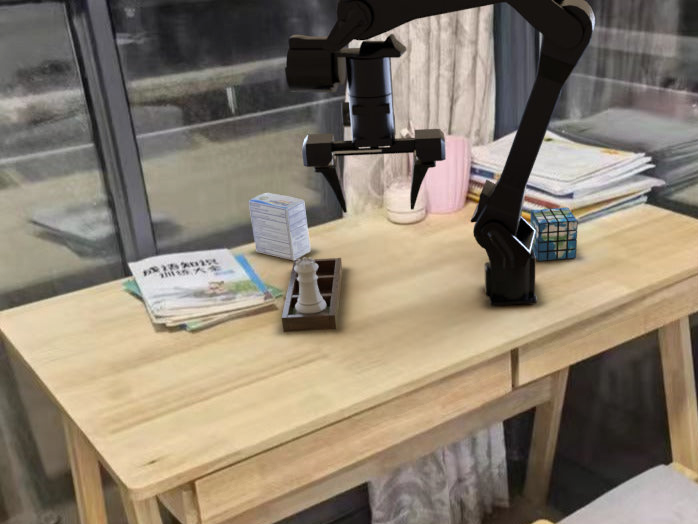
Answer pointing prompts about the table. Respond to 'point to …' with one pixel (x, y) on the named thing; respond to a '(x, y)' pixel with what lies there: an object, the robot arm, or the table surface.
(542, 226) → the puzzle
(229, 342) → the table surface
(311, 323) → the tray
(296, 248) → the medicine box
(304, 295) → the rook chess piece
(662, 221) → the table surface
